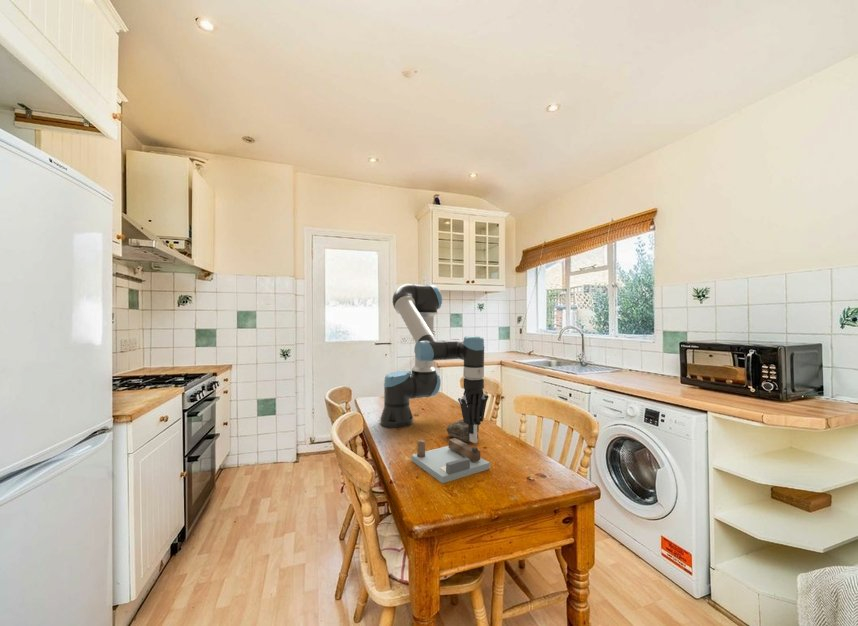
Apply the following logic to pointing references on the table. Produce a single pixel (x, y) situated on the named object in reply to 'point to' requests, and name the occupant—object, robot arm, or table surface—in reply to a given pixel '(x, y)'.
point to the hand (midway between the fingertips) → (473, 441)
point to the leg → (464, 449)
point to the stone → (459, 431)
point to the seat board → (442, 460)
